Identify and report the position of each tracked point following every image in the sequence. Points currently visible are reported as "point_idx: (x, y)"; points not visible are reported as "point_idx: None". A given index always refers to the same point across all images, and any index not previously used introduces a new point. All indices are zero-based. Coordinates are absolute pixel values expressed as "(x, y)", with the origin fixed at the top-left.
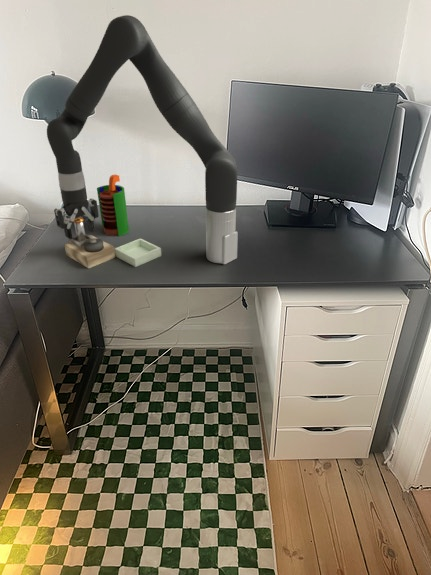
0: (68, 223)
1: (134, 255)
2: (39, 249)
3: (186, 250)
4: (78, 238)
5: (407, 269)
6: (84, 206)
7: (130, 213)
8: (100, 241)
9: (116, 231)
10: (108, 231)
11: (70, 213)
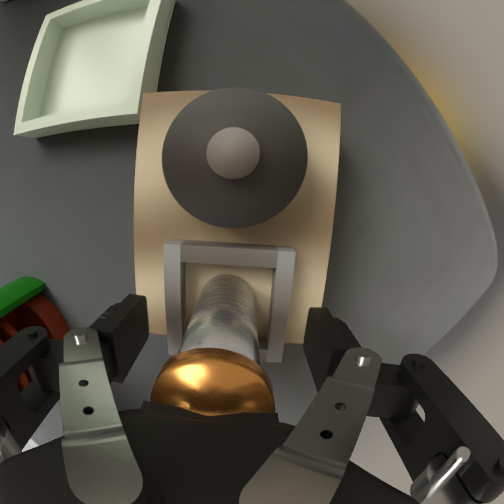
0: (371, 381)
1: (108, 60)
2: None
3: (14, 29)
4: (254, 306)
5: None
6: (66, 486)
7: None
8: (186, 129)
9: (36, 303)
10: (57, 330)
11: (355, 478)
